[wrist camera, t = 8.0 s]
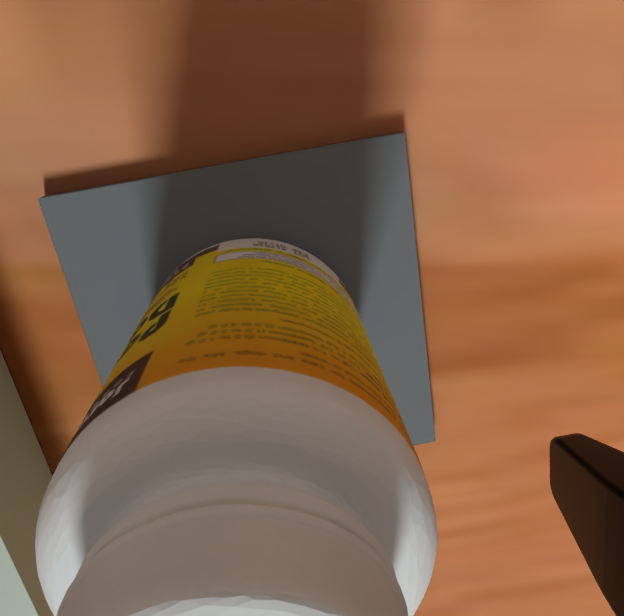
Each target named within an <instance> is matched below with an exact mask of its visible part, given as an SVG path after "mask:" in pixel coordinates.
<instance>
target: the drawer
mask: <svg viewBox="0 0 624 616" xmlns="http://www.w3.org/2000/svg"><path fill="white" fill-rule="evenodd" d="M51 478H52V474H51V471H50V469H49V467H48V464H47V462H46V459H45V457H44V454H43V452H42V450H41V447H40V445H39V442H38V440H37V438H36V435H35V433H34V430H33V428H32V425H31V423H30V421H29V418H28V416H27V413H26V411H25V409H24V406H23V404H22V401H21V399H20V396H19V394H18V392H17V389H16V387H15V384H14V382H13V379H12V377H11V375H10V372H9V370H8V367H7V365H6V363H5V360H4V358H3V355H2V353H1V350H0V616H54V615H53V613H52V611H51V609H50V607H49V605H48V603H47V601H46V599H45V596H44V593H43V590H42V587H41V584H40V580H39V577H38V572H37V565H36V552H35V537H36V525H37V520H38V515H39V509H40V506H41V503H42V500H43V497H44V495H45V492H46V490H47V487H48V485H49V483H50V481H51Z"/></svg>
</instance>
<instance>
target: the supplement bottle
mask: <svg viewBox="0 0 624 616" xmlns="http://www.w3.org/2000/svg"><path fill="white" fill-rule="evenodd" d="M436 549H437V523H436V515H435V510H434V505H433V501H432V496H431V493H430V490H429V487H428V484H427V480H426V477H425V474H424V471H423V469H422V466H421V464H420V461H419V459H418V456H417V454H416V451H415V449H414V447H413V445H412V442H411V440H410V437H409V434H408V432H407V430H406V427H405V425H404V423H403V420H402V418H401V416H400V414H399V411H398V408H397V406H396V404H395V401H394V399H393V397H392V394H391V392H390V389H389V387H388V385H387V383H386V380H385V378H384V375H383V373H382V371H381V368H380V365H379V363H378V361H377V359H376V356H375V354H374V351H373V349H372V346H371V344H370V342H369V339H368V337H367V334H366V332H365V330H364V327H363V325H362V322H361V319H360V317H359V314H358V312H357V310H356V307H355V305H354V303H353V301H352V299H351V297H350V295H349V292H348V291H347V289H346V287H345V286H344V284H343V283H342V281H341V280H340V279H339V278H338V276H337V275H336V274H335V273H334V272H333V271H332V270H331V269H330V268H329V267H328V266H327V265H325V264H324V263H323V262H322V261H320V260H319V259H318V258H316V257H315V256H313V255H312V254H310V253H308V252H306V251H304V250H302V249H300V248H298V247H296V246H293V245H290V244H287V243H284V242H280V241H276V240H270V239H260V238H250V239H237V240H231V241H226V242H222V243H219V244H216V245H213V246H211V247H208V248H206V249H204V250H202V251H200V252H198V253H196V254H195V255H193V256H191V257H190V258H189V259H187V260H186V261H184V262H183V263H182V264H181V265H180V266H179V267H177V268H176V269H175V270H174V271H173V272H172V273H171V274H170V276H169V277H168V278H167V279H166V281H165V282H164V283H163V285H162V286H161V288H160V289H159V291H158V292H157V294H156V295H155V297H154V298H153V300H152V302H151V303H150V305H149V307H148V309H147V310H146V312H145V314H144V316H143V318H142V319H141V321H140V323H139V324H138V326H137V328H136V330H135V331H134V333H133V335H132V336H131V338H130V340H129V342H128V344H127V345H126V347H125V349H124V351H123V353H122V354H121V356H120V357H119V359H118V361H117V363H116V364H115V366H114V368H113V370H112V372H111V373H110V375H109V377H108V379H107V380H106V382H105V384H104V386H103V387H102V389H101V391H100V392H99V394H98V396H97V398H96V399H95V401H94V403H93V404H92V406H91V408H90V410H89V411H88V413H87V415H86V417H85V418H84V420H83V422H82V424H81V426H80V427H79V429H78V431H77V432H76V434H75V436H74V437H73V439H72V441H71V442H70V444H69V446H68V447H67V449H66V451H65V452H64V454H63V456H62V458H61V460H60V462H59V464H58V466H57V468H56V470H55V472H54V474H53V476H52V478H51V481H50V483H49V485H48V487H47V490H46V492H45V495H44V497H43V500H42V503H41V506H40V509H39V515H38V520H37V525H36V537H35V552H36V565H37V572H38V577H39V580H40V584H41V587H42V590H43V593H44V596H45V599H46V601H47V603H48V605H49V607H50V609H51V611H52V613H53V615H54V616H413V615H414V613H415V612H416V610H417V608H418V606H419V605H420V603H421V601H422V599H423V597H424V594H425V592H426V590H427V587H428V585H429V582H430V580H431V576H432V572H433V567H434V562H435V555H436Z"/></svg>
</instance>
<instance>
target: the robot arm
mask: <svg viewBox="0 0 624 616" xmlns="http://www.w3.org/2000/svg"><path fill="white" fill-rule="evenodd" d="M550 486H551V490H552V493H553V496H554V499H555V501H556V503H557V505H558V507H559V509H560V511H561V513H562V515H563V517H564V519H565V520H566V522H567V524H568V526H569V528H570V530H571V532H572V534H573V536H574V538H575V540H576V542H577V544H578V546H579V548H580V550H581V552H582V554H583V556H584V558H585V560H586V562H587V564H588V566H589V568H590V570H591V572H592V574H593V576H594V578H595V580H596V582H597V584H598V585H599V587H600V589H601V591H602V593H603V595H604V596H605V598H606V600H607V601H608V603H609V605H610V606H611V608H612V610H613V611H614V613H615V614H616V616H624V452H622V451H620V450H617V449H615V448H613V447H610V446H608V445H606V444H603V443H601V442H599V441H597V440H594V439H592V438H590V437H587V436H585V435H583V434H579V433H575V434H569V435H564V436H559V437H555V438H553V439H552V440H551V443H550Z"/></svg>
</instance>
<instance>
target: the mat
mask: <svg viewBox="0 0 624 616" xmlns="http://www.w3.org/2000/svg"><path fill="white" fill-rule="evenodd" d="M38 201H39V203H40V206H41V209H42V212H43V215H44V218H45V221H46V224H47V226H48V229H49V232H50V235H51V238H52V241H53V244H54V247H55V250H56V252H57V255H58V258H59V261H60V264H61V267H62V270H63V273H64V275H65V278H66V281H67V284H68V287H69V290H70V293H71V296H72V298H73V301H74V304H75V307H76V310H77V313H78V316H79V319H80V322H81V324H82V327H83V330H84V333H85V336H86V339H87V342H88V345H89V347H90V350H91V353H92V356H93V359H94V362H95V365H96V368H97V371H98V373H99V376H100V379H101V382H102V385H103V386H104V384H105V382H106V380H107V379H108V377H109V375H110V373H111V372H112V370H113V368H114V366H115V364H116V363H117V361H118V359H119V357H120V356H121V354H122V353H123V351H124V349H125V347H126V345H127V344H128V342H129V340H130V338H131V336H132V335H133V333H134V331H135V330H136V328H137V326H138V324H139V323H140V321H141V319H142V318H143V316H144V314H145V312H146V310H147V309H148V307H149V305H150V303H151V302H152V300H153V298H154V297H155V295H156V294H157V292H158V291H159V289H160V288H161V286H162V285H163V283H164V282H165V281H166V279H167V278H168V277H169V276H170V274H171V273H172V272H173V271H174V270H175V269H176V268H177V267H179V266H180V265H181V264H182V263H183V262H184V261H186V260H187V259H189V258H190V257H191V256H193V255H195V254H196V253H198V252H200V251H202V250H204V249H206V248H208V247H211V246H213V245H216V244H219V243H222V242H226V241H231V240H237V239H250V238H260V239H270V240H276V241H280V242H284V243H287V244H290V245H293V246H296V247H298V248H300V249H302V250H304V251H306V252H308V253H310V254H312V255H313V256H315V257H316V258H318V259H319V260H320V261H322V262H323V263H324V264H325V265H327V266H328V267H329V268H330V269H331V270H332V271H333V272H334V273H335V274H336V275H337V276H338V278H339V279H340V280H341V281H342V283H343V284H344V286H345V287H346V289H347V291H348V292H349V295H350V297H351V299H352V301H353V303H354V305H355V307H356V310H357V312H358V314H359V317H360V319H361V322H362V325H363V327H364V330H365V332H366V334H367V337H368V339H369V342H370V344H371V346H372V349H373V351H374V354H375V356H376V359H377V361H378V363H379V365H380V368H381V371H382V373H383V375H384V378H385V380H386V383H387V385H388V387H389V389H390V392H391V394H392V397H393V399H394V401H395V404H396V406H397V408H398V411H399V414H400V416H401V418H402V420H403V423H404V425H405V427H406V430H407V432H408V434H409V437H410V440H411V442H412V445H418V444H423V443H429V442H434V441H436V439H435V429H434V419H433V409H432V399H431V389H430V379H429V369H428V359H427V349H426V339H425V329H424V319H423V309H422V299H421V289H420V279H419V269H418V259H417V249H416V239H415V229H414V219H413V209H412V199H411V189H410V179H409V169H408V159H407V149H406V139H405V133H403V132H398V133H393V134H387V135H381V136H376V137H370V138H365V139H359V140H354V141H348V142H343V143H337V144H331V145H326V146H320V147H315V148H309V149H304V150H298V151H292V152H287V153H281V154H276V155H270V156H265V157H259V158H253V159H248V160H242V161H237V162H231V163H226V164H220V165H215V166H209V167H203V168H198V169H192V170H187V171H181V172H176V173H170V174H164V175H159V176H153V177H148V178H142V179H137V180H131V181H125V182H120V183H114V184H109V185H103V186H98V187H92V188H87V189H81V190H75V191H70V192H64V193H59V194H53V195H48V196H43V197H41V198H39V199H38Z"/></svg>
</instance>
